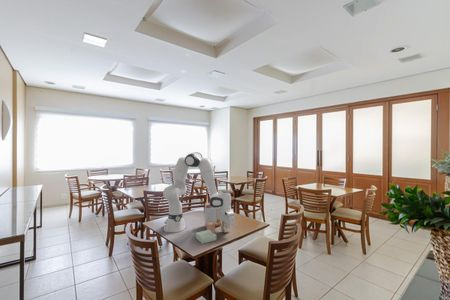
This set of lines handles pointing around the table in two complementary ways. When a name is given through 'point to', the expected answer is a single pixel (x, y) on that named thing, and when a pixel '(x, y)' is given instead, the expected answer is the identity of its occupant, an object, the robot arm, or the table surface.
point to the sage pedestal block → (206, 236)
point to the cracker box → (211, 215)
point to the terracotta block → (211, 226)
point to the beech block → (224, 227)
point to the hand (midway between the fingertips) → (225, 227)
